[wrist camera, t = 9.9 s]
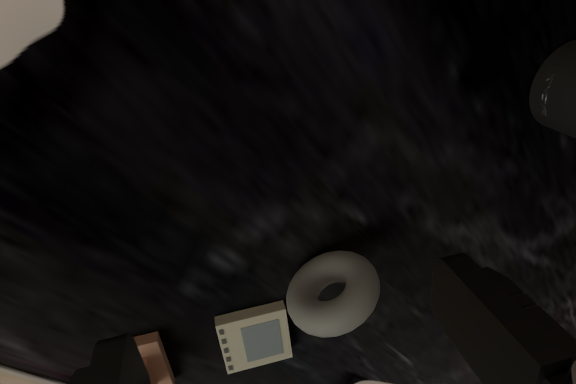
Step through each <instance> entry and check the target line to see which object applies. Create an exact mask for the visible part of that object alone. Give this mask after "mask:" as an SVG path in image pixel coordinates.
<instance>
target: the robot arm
mask: <svg viewBox="0 0 576 384" xmlns="http://www.w3.org/2000/svg"><path fill="white" fill-rule="evenodd" d="M529 103H530V110H531V112H532V115H533V117H534V118H535V119H536V121H538V122H539V123H540V124H542V125H544V126H547V127H549V128H552V129H554V130H557V131H559V132H562V133H564V134H567V135H569V136H571V137H574V138H576V39H575V40H572V41H570V42H567V43H565V44H564V45H562V46H560V47H559V48H557V49H556V50H555V51H554V52H553V53H552V54H551V55H550V56H549V57H548V58H547V59H546V60H545V61H544V63H543V64H542V65H541V67H540V69H539V70H538V72H537V74H536V76H535V78H534V80H533V83H532V86H531V90H530V97H529ZM431 308H432V312H433V315H434V317H435V319H436V321H437V323H438V324H439V326H440V327H441V328H442V330H443V331H444V332H445V334H446V335H447V336H448V338H449V339H450V340H451V342H452V343H453V345H454V346H455V347H456V349H457V350H458V351H459V353H460V354H461V355H462V357H463V358H464V359H465V361H466V362H467V363H468V365H469V366H470V367H471V369H472V370H473V372H474V373H475V374H476V376H477V377H478V378H479V380H480V381H481V382H482V384H576V339H575V338H574V337H572V336H571V335H570V334H569V333H568V332H567V331H566V330H565V329H564V328H563V327H562V326H560V325H559V324H558V323H557V322H556V321H555V320H554V319H553V318H552V317H551V316H550V315H548V314H547V313H546V312H545V311H544V310H543V309H542V308H541V307H540V306H537V305H536V303H535V302H534V301H533V300H532V299H531V298H530V297H529V296H528V295H527V294H524V293H523V291H522V290H521V289H520V288H519V287H518V286H517V285H516V284H515V283H514V282H512V281H511V280H510V279H509V278H508V277H506V276H504V275H503V274H501V273H499V272H497V271H495V270H493V269H491V268H489V267H485V268H481V267H480V266H479V265H478V264H477V263H476V262H474V261H473V260H472V259H471V258H470V257H469V256H468V255H467V254H465V253H459V254H455V255H451V256H447V257H443V258H439V259H436V260H435V261H434V265H433V276H432V289H431ZM67 384H151V382H150V377H149V374H148V371H147V369H146V366H145V364H144V361H143V359H142V357H141V354H140V352H139V349H138V347H137V345H136V342H135V340H134V337H133V336H132V334H130V333H128V334H124V335H120V336H116V337H112V338H108V339H104V340H100V341H97V343H96V344H95V347H94V351H93V355H92V359H91V364H90V366H89V367H85V368H81V369H77V370H76V371H75V372H74V374H73V375H72V376H71V378H70V379H69V381H68V382H67Z"/></svg>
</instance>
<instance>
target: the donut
mask: <svg viewBox="0 0 576 384" xmlns="http://www.w3.org/2000/svg"><path fill="white" fill-rule="evenodd" d="M334 282H344V283H346V287H345V289H344V291H343V292H342V293H341V294H340V295H339V296H338V297H336V298H335V299H332V300H330V301H324V302H323V301H319V300H318V296H319V294H320V292H321V291H322V290H323V289H324V288H325V287H326V286H328V285H329V284H332V283H334ZM379 294H380V281H379V278H378V275H377V272H376V270H375V268H374V266H373V265H372V264H371V263H370V262H369V261H368V260H367V259H366V258H365V257H363V256H361V255H358V254H356V253H354V252H351V251H340V250H339V251H333V252H327V253H324V254H321V255H319V256H316V257H314V258H313V259H311V260H310V261H308V262H307V263H305V264H304V265H303V266H302V267H301V268H300V269H299V270H298V271H297V273H296V274H295V275H294V277H293V279H292V281H291V282H290V284H289V287H288V291H287V296H286V302H287V311H288V313H289V315H290V317H291V319H292V320H293V322H294V324H295V325H296V326H297V327H299V328H300V329H301V330H303V331H304V332H306V333H307V334H311V335H315V336H319V337H336V336H340V335H342V334H345V333H348V332H350V331H352V330H354V329H355V328H357V327H358V326H359V325H361V324H362V323H364V322H365V321H366V319H367V318H368V317H369V316H370V314H371V313H372V312H373V311H374V308H375V306H376V303H377V301H378V298H379Z"/></svg>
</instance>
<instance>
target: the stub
mask: <svg viewBox="0 0 576 384" xmlns="http://www.w3.org/2000/svg"><path fill="white" fill-rule="evenodd" d="M134 340H135V342H136V345H137V347H138V349H139V352H140V354H141V357H142V359H143V361H144V364H145V366H146V369H147V371H148V374H149V377H150V382H151V384H175V378H174V375H173V372H172V369H171V367H170V364H169V361H168V358H167V355H166V353H165V350H164V347H163V344H162V341H161V339H160V336H159V333H158V331H156V332H152V333H148V334H144V335H140V336H136V337H134Z"/></svg>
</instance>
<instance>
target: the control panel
mask: <svg viewBox="0 0 576 384" xmlns="http://www.w3.org/2000/svg"><path fill="white" fill-rule="evenodd" d="M215 327H216V331H217V334H218V338H219V342H220V346H221V350H222V354H223V357H224V361H225V365H226V369H227V373H228V374H231V373H234V372H238V371H242V370H246V369H249V368H253V367H257V366H261V365H264V364H268V363H272V362H276V361H280V360H283V359H287V358H291V357H292V349H291V342H290V335H289V328H288V321H287V314H286V308H285V305H284V302H283V300H281V301H277V302H273V303H269V304H265V305H261V306H257V307H252V308H248V309H244V310H240V311H236V312H232V313H228V314H224V315H220V316H215Z"/></svg>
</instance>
